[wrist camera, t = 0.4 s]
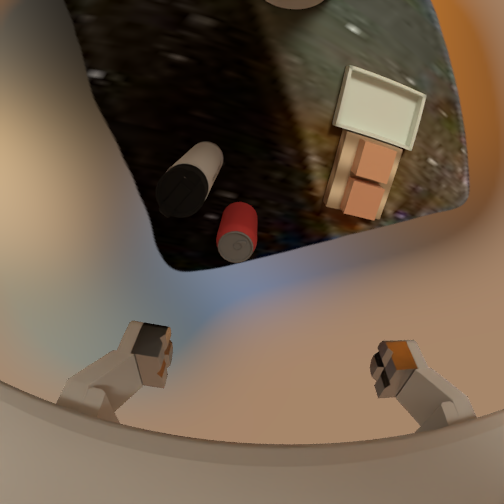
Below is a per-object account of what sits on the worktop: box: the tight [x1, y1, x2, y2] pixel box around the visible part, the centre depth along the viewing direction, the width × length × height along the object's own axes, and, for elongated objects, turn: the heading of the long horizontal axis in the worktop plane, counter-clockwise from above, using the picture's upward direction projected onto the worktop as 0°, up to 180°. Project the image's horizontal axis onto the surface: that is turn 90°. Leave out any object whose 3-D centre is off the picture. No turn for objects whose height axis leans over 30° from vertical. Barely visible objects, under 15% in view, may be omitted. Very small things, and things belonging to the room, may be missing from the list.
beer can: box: [216, 202, 257, 263], centre depth 53 cm, size 7×7×12 cm
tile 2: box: [351, 138, 397, 184], centre depth 47 cm, size 6×6×3 cm
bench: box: [323, 129, 403, 219], centre depth 51 cm, size 14×11×3 cm
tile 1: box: [340, 176, 385, 221], centre depth 51 cm, size 6×6×3 cm
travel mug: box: [156, 142, 224, 218], centre depth 44 cm, size 6×7×20 cm
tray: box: [332, 65, 426, 151], centre depth 45 cm, size 11×15×2 cm
